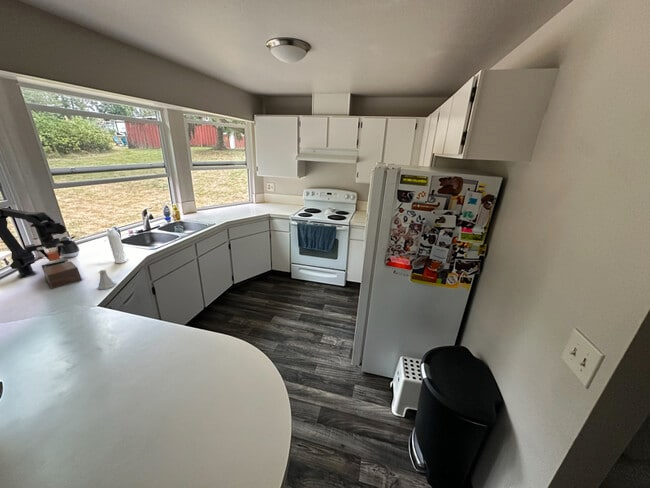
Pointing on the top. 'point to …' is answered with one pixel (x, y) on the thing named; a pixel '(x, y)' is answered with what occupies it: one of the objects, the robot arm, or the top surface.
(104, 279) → the flask
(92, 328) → the top surface
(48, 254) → the block
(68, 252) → the black rounded dome
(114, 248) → the white statue
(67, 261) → the drawer
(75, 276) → the cabinet
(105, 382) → the top surface
